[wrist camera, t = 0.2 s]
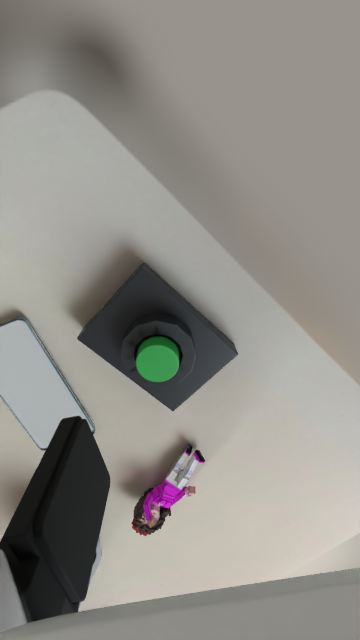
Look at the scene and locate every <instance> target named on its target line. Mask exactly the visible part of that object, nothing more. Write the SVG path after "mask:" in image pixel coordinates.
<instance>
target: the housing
mask: <svg viewBox="0 0 360 640" xmlns="http://www.w3.org/2000/svg"><path fill="white" fill-rule="evenodd" d="M153 336H163V337H166V338H168V339H170V340H172V341H173V342H174V343H175V345H176V346H177V348H178V351H179V368H178V370H177V372H176V374H175V375H174V376H173V377H172V378H170V379H169V380H166V381H163V382H152V381H149V380H147V379H145V378H144V377H142V376H141V375H140V373H139V372H138V370H137V367H136V358H137V353H138V349H139V347H140V345H141V343H142V342H143V341H145V340H146V339H148V338H150V337H153ZM77 339H78V340H79V341H81V342H82V343H83V344H85V345H86V346H87V347H89V348H90V349H91V350H93V351H94V352H95V353H97V354H98V355H99V356H101V357H102V358H103V359H105V360H106V361H107V362H109V363H110V364H111V365H112V366H114V367H115V368H116V369H118V370H119V371H120V372H122V373H123V374H124V375H126V376H127V377H128V378H130V379H131V380H132V381H134V382H135V383H136V384H138V385H139V386H140V387H142V388H143V389H144V390H146V391H147V392H148V393H150V394H151V395H152V396H154V397H155V398H156V399H157V400H159V401H160V402H161V403H163V404H164V405H165V406H167V407H168V408H169V409H171V410H172V411H174V410H175V409H176V408H177V407H179V406H180V405H181V404H182V403H183V402H184V401H185V400H187V399H188V398H189V397H190V396H191V395H192V394H193V393H195V392H196V391H197V390H198V389H199V388H200V387H201V386H203V385H204V384H205V383H206V382H207V381H208V380H209V379H211V378H212V377H213V376H214V375H215V374H216V373H217V372H218V371H220V370H221V369H222V368H223V367H224V366H225V365H226V364H228V363H229V362H230V361H231V360H232V359H233V358H234V357H236V356H237V355H238V352H237V350H236V347H235V345H234V343H233V342H232V341H231V340H229V339H228V338H227V337H226V336H225V335H224V334H223V333H222V332H221V331H219V330H218V329H217V328H216V327H215V326H214V325H213V324H212V323H211V322H210V321H208V320H207V319H206V318H205V317H204V316H203V315H202V314H201V313H200V312H198V311H197V310H196V309H195V308H194V307H193V306H192V305H191V304H190V303H189V302H187V301H186V300H185V299H184V298H183V297H182V296H181V295H180V294H179V293H177V292H176V291H175V290H174V289H173V288H172V287H171V286H170V285H169V284H168V283H166V282H165V281H164V280H163V279H162V278H161V277H160V276H159V275H158V274H156V273H155V272H154V271H153V270H152V269H151V268H150V267H149V266H148V265H147V264H145V263H143V264H142V265H141V266H140V267H139V268H138V269H137V270H136V271H135V273H134V274H133V275H132V276H131V277H130V278H129V279H128V280H127V281H126V282H125V284H124V285H123V286H122V287H121V288H120V289H119V290H118V291H117V292H116V293H115V295H114V296H113V297H112V298H111V299H110V300H109V301H108V302H107V303H106V304H105V305H104V307H103V308H102V309H101V310H100V311H99V312H98V313H97V314H96V315H95V316H94V318H93V319H92V320H91V321H90V322H89V323H88V324H87V325H86V326H85V327H84V329H83V330H82V331H81V333H80V335H79V336H78V338H77Z"/></svg>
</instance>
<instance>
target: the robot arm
mask: <svg viewBox="0 0 360 640" xmlns="http://www.w3.org/2000/svg"><path fill="white" fill-rule="evenodd" d="M109 488H110V475H109V472H108V470H107V468H106V465H105V463H104V460H103V458H102V455H101V453H100V451H99V448H98V446H97V443H96V441H95V438H94V436H93V434H92V431H91V429H90V426H89V424H88V421H87V420H86V419H82V418H81V417H80V416H73V417H68V418H63V419H62V420H61V421H60V423H59V425H58V427H57V429H56V431H55V433H54V435H53V437H52V439H51V441H50V443H49V445H48V447H47V449H46V451H45V453H44V455H43V457H42V459H41V462H40V464H39V466H38V467H37V469H36V471H35V473H34V475H33V477H32V479H31V481H30V483H29V485H28V487H27V489H26V491H25V493H24V495H23V497H22V499H21V501H20V503H19V505H18V507H17V509H16V511H15V513H14V515H13V517H12V519H11V521H10V523H9V525H8V527H7V529H6V532H5V534H4V536H3V538H2V540H1V542H0V640H360V568H355V569H348V570H341V571H335V572H328V573H321V574H314V575H308V576H301V577H294V578H288V579H281V580H275V581H268V582H261V583H255V584H248V585H242V586H235V587H229V588H222V589H216V590H209V591H203V592H197V593H190V594H184V595H178V596H172V597H165V598H159V599H153V600H146V601H140V602H134V603H127V604H121V605H115V606H109V607H104V608H98V609H93V610H87V611H82V612H78V609H79V604H80V602H81V601H84V600H85V597H86V595H87V590H88V586H89V581H90V576H91V572H92V567H93V562H94V558H95V553H96V548H97V544H98V539H99V534H100V530H101V525H102V520H103V516H104V511H105V506H106V502H107V497H108V492H109Z"/></svg>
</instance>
